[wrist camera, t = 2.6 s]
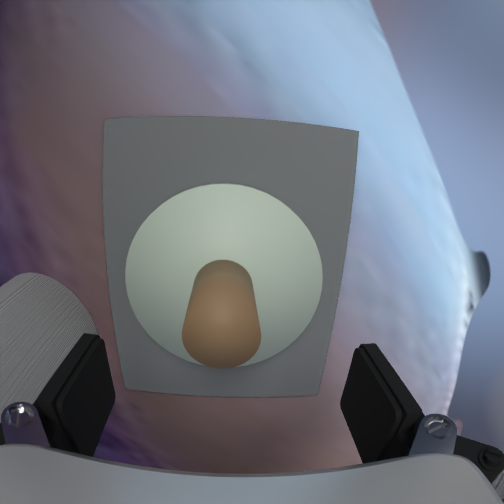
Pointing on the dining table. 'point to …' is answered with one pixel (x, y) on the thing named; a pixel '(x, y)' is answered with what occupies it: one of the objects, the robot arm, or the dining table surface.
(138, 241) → the lid
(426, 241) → the dining table surface
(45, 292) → the cup
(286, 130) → the mat
